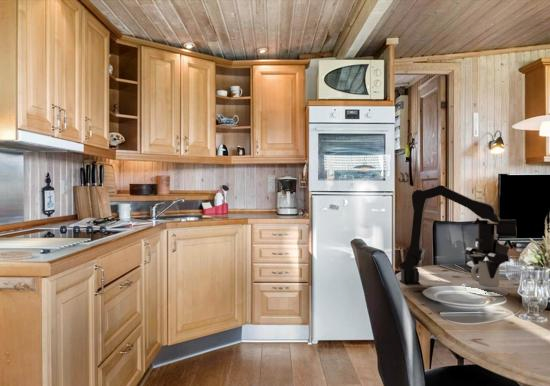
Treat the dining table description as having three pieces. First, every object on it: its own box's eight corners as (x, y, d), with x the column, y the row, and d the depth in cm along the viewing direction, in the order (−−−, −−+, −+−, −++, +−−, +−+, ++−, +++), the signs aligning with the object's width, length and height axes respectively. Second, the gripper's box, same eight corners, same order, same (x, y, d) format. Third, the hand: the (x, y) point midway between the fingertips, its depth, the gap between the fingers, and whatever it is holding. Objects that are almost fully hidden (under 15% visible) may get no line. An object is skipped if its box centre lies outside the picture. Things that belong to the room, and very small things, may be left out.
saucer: (479, 298, 152) (479, 294, 152) (457, 288, 167) (457, 285, 167) (517, 296, 154) (517, 293, 154) (491, 286, 169) (492, 284, 169)
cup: (501, 287, 156) (501, 264, 156) (472, 286, 159) (472, 263, 159) (496, 283, 163) (496, 261, 163) (469, 282, 166) (469, 260, 166)
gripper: (522, 238, 152) (522, 281, 152) (490, 233, 170) (489, 270, 171) (494, 239, 150) (494, 281, 151) (464, 233, 169) (464, 271, 169)
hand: (485, 276), depth 160 cm, fingers closed on cup, 7 cm apart
